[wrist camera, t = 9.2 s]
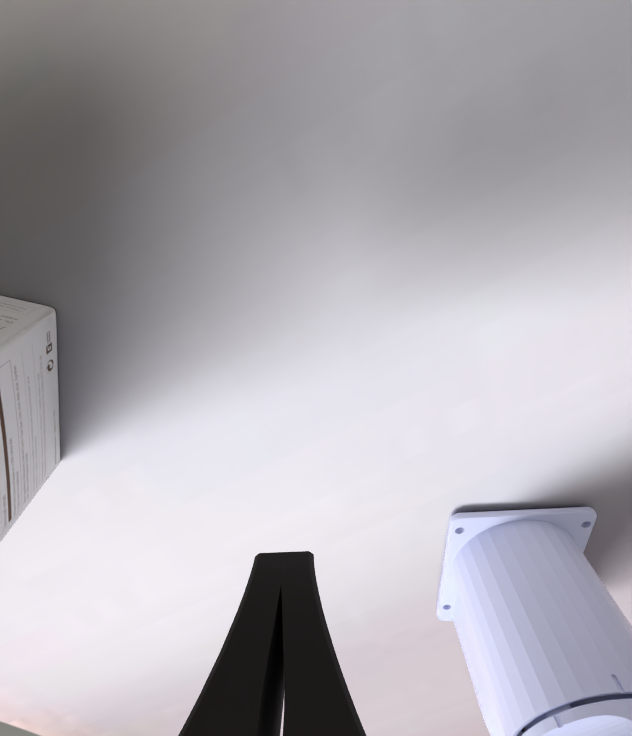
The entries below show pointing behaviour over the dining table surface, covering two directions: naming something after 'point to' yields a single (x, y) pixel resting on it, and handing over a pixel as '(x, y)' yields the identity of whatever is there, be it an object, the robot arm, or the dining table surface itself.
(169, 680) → the dining table surface
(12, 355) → the supplement box
